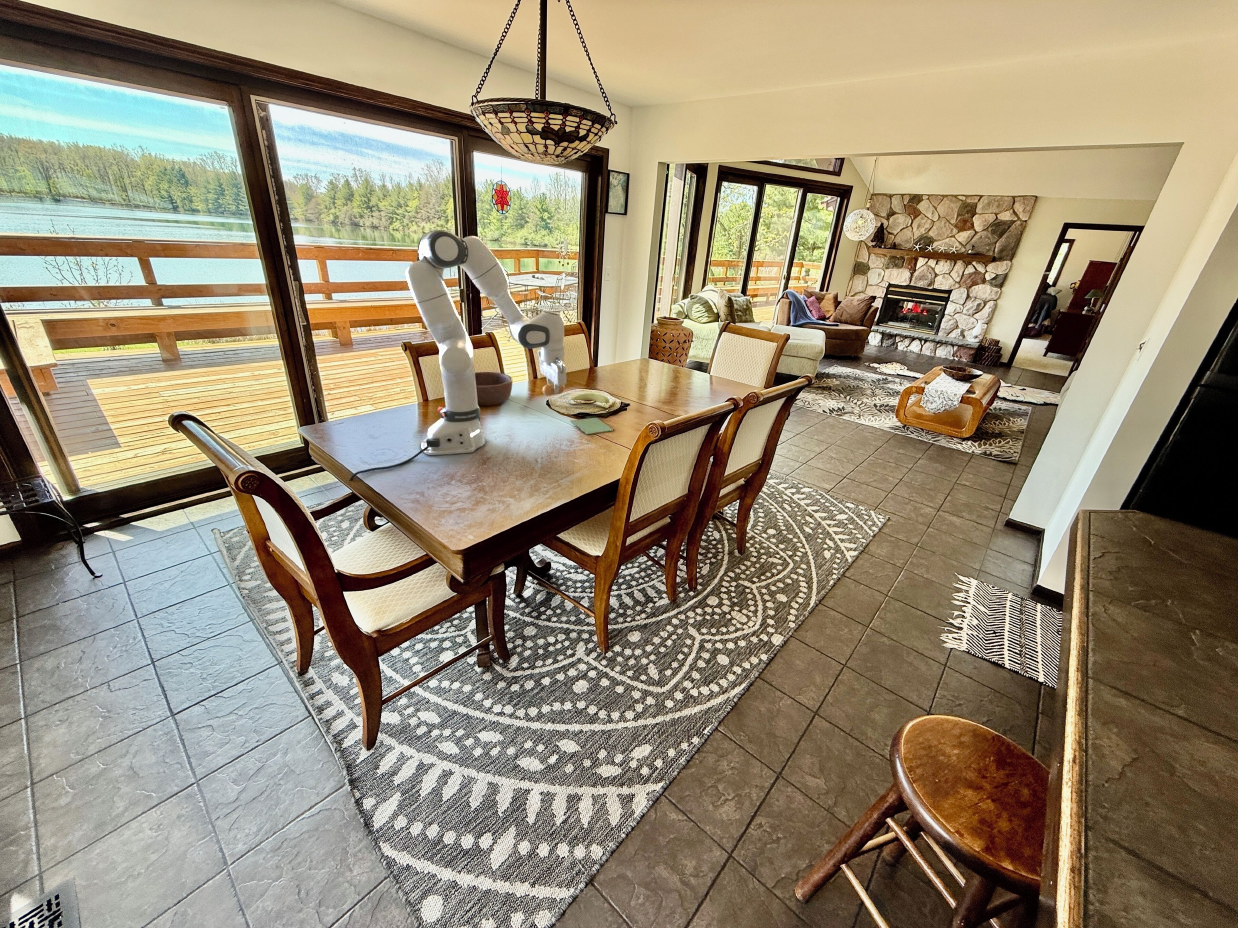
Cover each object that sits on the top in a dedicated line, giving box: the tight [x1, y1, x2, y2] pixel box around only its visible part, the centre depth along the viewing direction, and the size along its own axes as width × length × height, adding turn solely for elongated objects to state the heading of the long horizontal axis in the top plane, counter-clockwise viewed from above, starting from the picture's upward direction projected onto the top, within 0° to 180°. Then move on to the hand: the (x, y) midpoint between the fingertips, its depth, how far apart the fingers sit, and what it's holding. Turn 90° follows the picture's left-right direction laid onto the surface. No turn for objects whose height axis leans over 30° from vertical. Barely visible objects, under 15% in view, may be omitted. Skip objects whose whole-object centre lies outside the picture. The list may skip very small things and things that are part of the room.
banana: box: [569, 392, 610, 413], centre depth 223 cm, size 14×6×20 cm
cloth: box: [571, 417, 614, 435], centre depth 202 cm, size 12×16×1 cm
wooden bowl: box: [475, 371, 513, 407], centre depth 223 cm, size 25×25×10 cm
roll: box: [541, 382, 565, 397], centre depth 188 cm, size 9×4×4 cm, turn 129°
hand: (553, 390), depth 188 cm, fingers closed on roll, 5 cm apart
